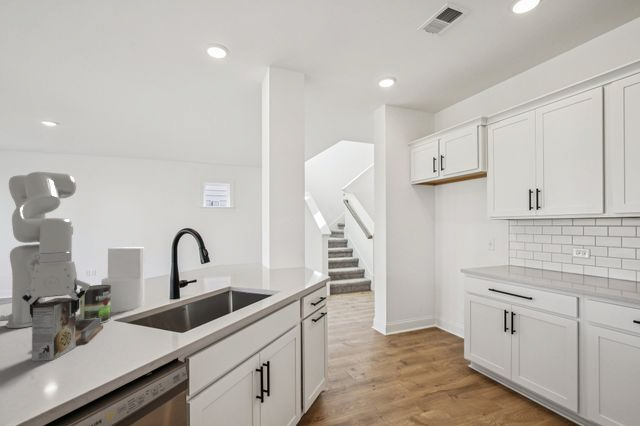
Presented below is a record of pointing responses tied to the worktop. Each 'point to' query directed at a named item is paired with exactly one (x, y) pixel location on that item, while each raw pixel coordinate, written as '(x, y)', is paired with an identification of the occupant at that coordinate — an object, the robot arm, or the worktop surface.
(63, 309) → the coffee box
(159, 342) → the worktop surface
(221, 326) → the worktop surface
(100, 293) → the coffee can
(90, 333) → the dock
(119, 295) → the tall white block
